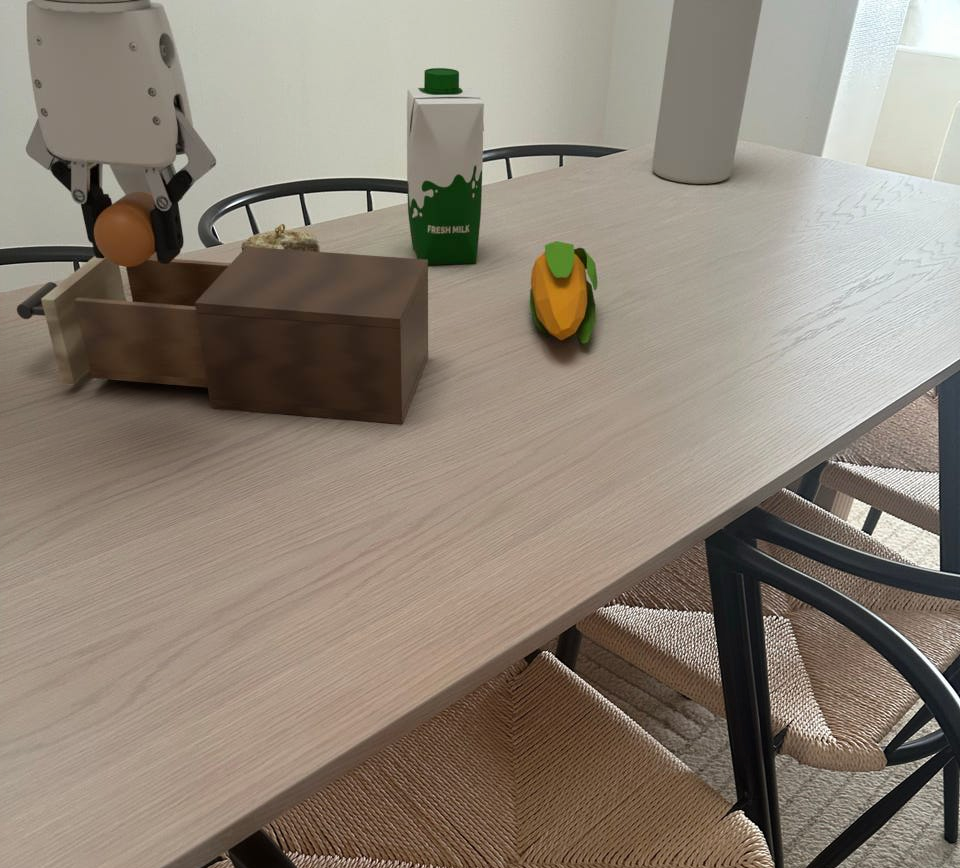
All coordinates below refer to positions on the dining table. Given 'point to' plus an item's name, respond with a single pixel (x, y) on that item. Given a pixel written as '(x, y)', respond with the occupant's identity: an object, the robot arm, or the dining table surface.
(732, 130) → the cylinder vase
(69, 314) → the drawer
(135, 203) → the bread roll
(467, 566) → the dining table surface
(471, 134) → the milk carton
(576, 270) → the corn
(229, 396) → the cabinet
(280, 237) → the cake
